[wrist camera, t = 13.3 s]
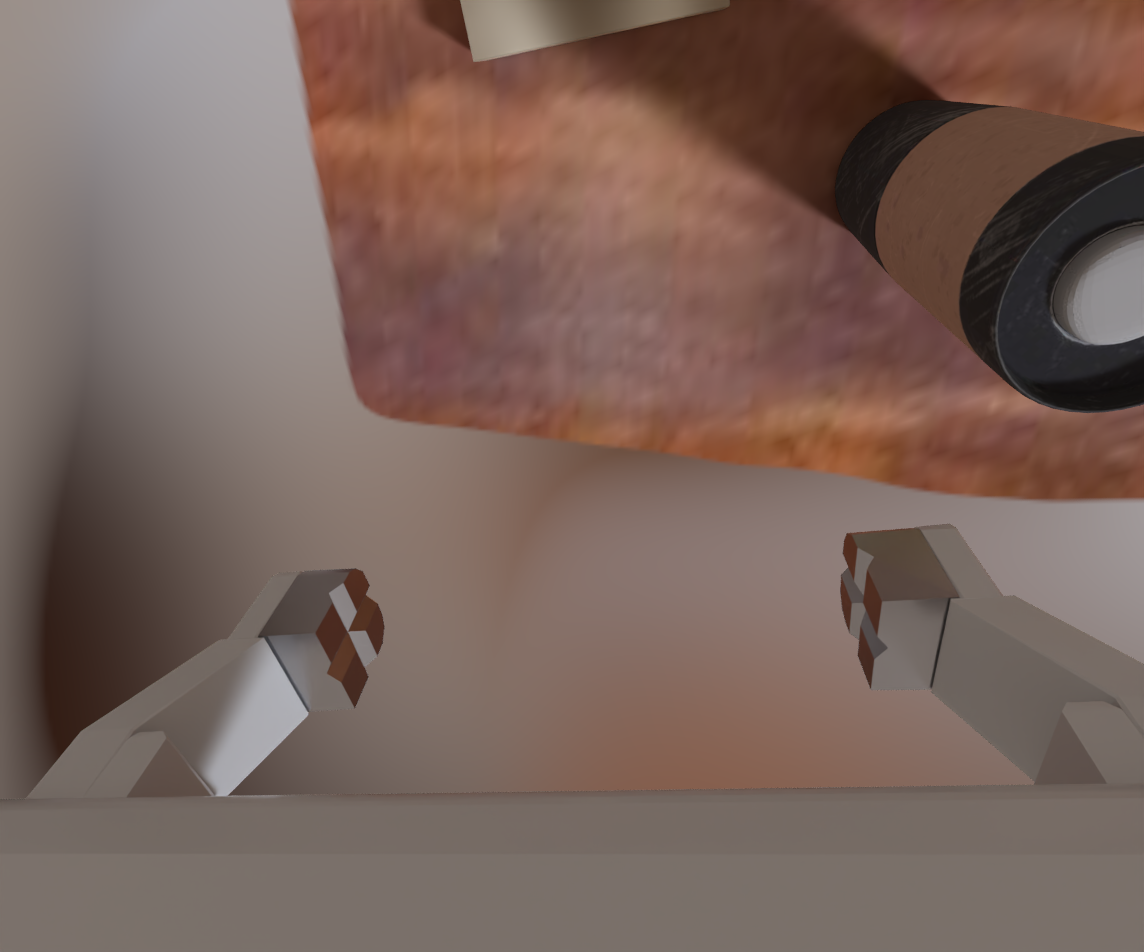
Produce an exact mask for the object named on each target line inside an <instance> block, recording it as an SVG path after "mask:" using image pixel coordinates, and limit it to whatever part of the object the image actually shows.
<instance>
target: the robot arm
mask: <svg viewBox="0 0 1144 952" xmlns="http://www.w3.org/2000/svg"><path fill="white" fill-rule="evenodd" d="M843 555H844V557H845V560H846V562H847V565H848V568H847V569H846V570H845V571H844V572H843V574H841V587H840V594H841V604H842V611H843V614H844V619H845V622H846V625H847V628H848V630H849V633H850V634H851V635H853V636H854V637H855V638H857V639H858V640H859V647H858V657H859V660H860V663H861V666H862V668H863V671H864V674H865V676H866V679H867V681H868V684H869V686H870V689H871V690H925V689H927V690H930V689H931V690H932V693H933V694H934V695H935V696H936V697H938V698H939V699H940V700H941V701H942V702H943V703H944V704H946V705H947V706H948V707H949V708H950V709H952V711H954V712H955V713H956V714H957V715H958V716H959V717H961V718H962V719H963V720H964V721H965V722H966V723H967V724H969V725H970V726H971V727H972V728H973V729H975V730H976V731H977V732H978V733H979V734H980V735H981V736H983V737H984V738H985V739H986V740H987V741H988V742H989V743H990V744H992V745H993V746H994V747H995V748H996V749H997V750H999V751H1000V752H1001V753H1002V754H1003V755H1004V756H1006V757H1007V758H1008V759H1009V760H1010V761H1011V762H1012V763H1014V764H1015V765H1016V766H1017V767H1018V768H1019V769H1020V770H1022V771H1023V772H1024V773H1025V774H1026V775H1027V776H1029V777H1030V778H1031V779H1032V780H1033V781H1034V782H1035V783H1034V785H977V786H904V787H902V786H901V787H829V788H760V789H686V790H618V791H616V790H615V791H550V792H549V791H547V792H546V791H545V792H472V793H401V794H333V795H332V794H328V795H264V796H263V795H257V796H227V795H228V794H229V793H230V792H231V791H232V790H234V788H235V787H237V786H238V785H239V783H241V781H242V780H243V779H245V777H247V775H249V774H250V773H251V772H252V770H254V768H255V767H256V766H257V765H259V764H260V763H261V761H263V760H264V759H265V758H266V757H267V756H268V755H269V753H271V752H272V751H273V750H274V749H275V748H276V747H277V746H278V745H279V744H280V743H281V742H282V741H283V740H284V739H285V738H286V737H287V736H288V735H289V734H290V733H291V731H293V730H294V729H295V727H297V726H298V725H299V724H300V722H302V721H303V719H305V718H306V717H307V716H308V712H313V711H328V710H342V709H355V707H356V705H357V703H358V700H359V698H360V695H361V693H362V691H363V689H364V686H365V684H366V682H367V680H368V674H367V672H366V669H365V666H367V665H368V664H369V663H370V662H371V661H373V659H375V658H376V657H377V656H378V654H379V651H380V649H381V646H382V644H383V635H384V621H383V616H382V613H381V610H380V608H379V606H378V604H377V603H376V602H374V601H373V600H372V599H370V598H369V597H367V596H366V593H367V591H368V588H369V586H370V585H369V583H368V581H367V579H366V577H365V575H364V573H363V571H361V570H358V569H356V568H355V569H334V570H313V571H304V572H283V573H278V574H276V575H274V576H272V577H271V579H270V580H269V582H268V583H267V584H266V586H265V587H264V589H263V590H262V591H261V593H260V594H259V595H258V597H257V598H256V600H255V601H254V603H253V604H252V605H251V607H250V608H249V610H248V611H247V613H246V614H245V615H244V617H243V618H242V620H241V621H240V622H239V624H238V625H237V627H236V628H235V630H234V631H233V632H232V634H231V635H230V637H229V638H228V639H227V640H219V641H217V642H216V643H214V644H213V645H211V646H209V647H208V648H207V649H205V650H203V651H202V652H200V653H199V654H198V655H196V656H194V657H193V658H191V659H190V660H188V661H187V662H185V663H184V664H182V665H181V666H179V667H178V668H176V669H175V670H173V671H172V672H170V673H169V674H167V675H166V676H164V677H163V678H161V679H160V680H158V681H157V682H155V683H154V684H152V685H150V686H149V687H147V688H146V689H144V690H143V691H141V692H140V693H138V694H137V695H135V696H134V697H132V698H131V699H129V700H128V701H127V702H125V703H123V704H122V705H120V706H119V707H118V708H116V709H114V710H113V711H111V712H110V713H108V714H107V715H105V716H104V717H102V718H101V719H99V720H98V721H96V722H95V723H93V724H92V725H90V726H89V727H87V728H85V729H84V730H82V731H81V732H80V733H79V735H78V736H77V737H76V738H75V739H74V741H73V742H72V743H71V744H70V746H69V747H68V748H67V749H66V750H65V752H64V753H63V754H62V755H61V757H60V758H59V759H58V760H57V761H56V763H55V764H54V765H53V766H52V767H51V769H50V770H49V771H48V772H47V774H46V775H45V776H44V777H43V778H42V780H41V781H40V782H39V783H38V784H37V786H36V787H35V788H34V789H33V791H32V792H31V793H30V794H29V795H28V797H27V798H26V799H0V952H1144V664H1143V663H1141V662H1139V661H1137V660H1135V659H1133V658H1131V657H1129V656H1128V655H1125V654H1124V653H1122V652H1120V651H1118V650H1116V649H1114V648H1112V647H1111V646H1109V645H1107V644H1105V643H1103V642H1101V641H1099V640H1097V639H1095V638H1093V637H1092V636H1090V635H1088V634H1086V633H1084V632H1082V631H1080V630H1078V629H1076V628H1075V627H1073V626H1071V625H1069V624H1067V623H1065V622H1063V621H1061V620H1059V619H1058V618H1056V617H1054V616H1052V615H1050V614H1048V613H1046V612H1044V611H1042V610H1040V609H1039V608H1036V607H1035V606H1033V605H1031V604H1029V603H1027V602H1025V601H1023V600H1021V599H1020V598H1018V597H1016V596H1003V595H1002V594H1001V592H1000V591H999V589H998V588H997V586H996V585H995V583H994V582H993V581H992V579H991V578H990V576H989V575H988V573H987V572H986V570H985V569H984V568H983V566H982V565H981V563H980V562H979V560H978V559H977V557H976V556H975V555H974V553H973V552H972V550H971V549H970V547H969V546H968V545H967V543H966V542H965V540H964V539H963V537H962V536H961V535H960V533H959V531H958V530H957V529H956V527H954V526H952V525H951V524H942V525H932V526H921V527H915V528H908V529H895V530H882V531H869V532H857V533H847V534H846V536H845V539H844V546H843Z"/></svg>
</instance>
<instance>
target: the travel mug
mask: <svg viewBox="0 0 1144 952" xmlns="http://www.w3.org/2000/svg"><path fill="white" fill-rule="evenodd" d="M835 197H836V203H837V207H838V211H839V214H840V216H841V218H842V220H843V222H844V223H845V225H846V226H847V227H848V229H849V230H850V231H851V233H852V234H853V235H854V236H855V237H856V238H857V239H858V241H859V242H860V243H861V244H862V245H863V246H864V247H865V248H866V250H867V251H868V252H869V253H870V254H871V255H872V256H873V257H874V259H875V260H876V261H877V262H878V263H879V264H880V265H881V266H882V267H883V269H884V270H885V271H886V272H887V273H888V274H889V275H890V276H891V277H892V278H893V279H894V280H895V281H896V283H897V284H899V285H900V286H901V287H902V288H903V289H904V290H905V291H906V292H907V293H909V294H910V295H911V296H912V297H913V298H914V299H915V300H916V301H917V302H918V303H920V304H921V305H922V306H923V307H924V308H925V309H926V310H927V311H928V312H930V313H931V314H932V315H933V316H934V317H935V318H936V319H937V320H938V321H939V322H941V323H942V324H943V325H944V326H945V327H946V328H947V329H948V330H949V331H951V332H952V333H953V334H954V335H955V336H956V337H957V338H958V339H959V340H960V341H962V342H963V343H964V344H965V345H966V346H967V347H968V348H969V349H970V350H972V351H973V352H974V353H975V354H976V355H977V356H978V357H979V358H980V359H982V360H983V361H984V362H985V363H986V364H987V365H988V366H989V367H990V368H991V369H993V370H994V371H995V372H996V373H997V374H998V375H999V376H1000V377H1001V378H1002V379H1004V380H1005V381H1006V382H1007V383H1008V384H1009V385H1010V386H1012V387H1013V388H1014V389H1016V390H1017V391H1018V392H1020V393H1021V394H1022V395H1024V396H1025V397H1027V398H1029V399H1031V400H1033V401H1035V402H1037V403H1039V404H1042V405H1045V406H1048V407H1050V408H1053V409H1059V410H1064V411H1069V412H1082V413H1096V412H1109V411H1116V410H1123V409H1127V408H1131V407H1135V406H1140V405H1143V404H1144V132H1141V131H1136V130H1131V129H1125V128H1120V127H1115V126H1110V125H1105V124H1099V123H1094V122H1089V121H1084V120H1079V119H1073V118H1068V117H1063V116H1058V115H1053V114H1047V113H1042V112H1037V111H1032V110H1027V109H1021V108H1016V107H1007V106H996V105H985V104H974V103H962V102H951V101H936V100H921V101H912V102H908V103H904V104H901V105H898V106H895V107H893V108H891V109H889V110H887V111H885V112H883V113H882V114H880V115H879V116H877V117H876V118H874V119H873V120H872V121H871V122H870V123H868V124H867V125H866V126H865V127H864V128H863V129H862V130H861V131H860V132H859V133H858V135H857V136H856V137H855V138H854V140H853V141H852V142H851V144H850V146H849V147H848V149H847V150H846V152H845V154H844V156H843V158H842V161H841V164H840V166H839V169H838V174H837V178H836V186H835Z"/></svg>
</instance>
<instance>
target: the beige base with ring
mask: <svg viewBox="0 0 1144 952" xmlns="http://www.w3.org/2000/svg"><path fill="white" fill-rule="evenodd" d="M460 2H461V7H462V11H463V16H464V20H465V25H466V29H467V34H468V39H469V43H470V48H471V52H472V57H473V61H474V62H477V61H487V60H492V59H496V58H501V57H506V56H510V55H515V54H519V53H524V52H529V51H533V50H538V49H542V48H547V47H552V46H556V45H561V44H566V43H570V42H575V41H579V40H584V39H589V38H593V37H598V36H602V35H607V34H612V33H616V32H621V31H625V30H630V29H635V28H639V27H644V26H648V25H653V24H658V23H662V22H667V21H672V20H676V19H681V18H685V17H690V16H695V15H699V14H704V13H708V12H713V11H718V10H722V9H725V8H727V7H729V6H730V0H460Z"/></svg>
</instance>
